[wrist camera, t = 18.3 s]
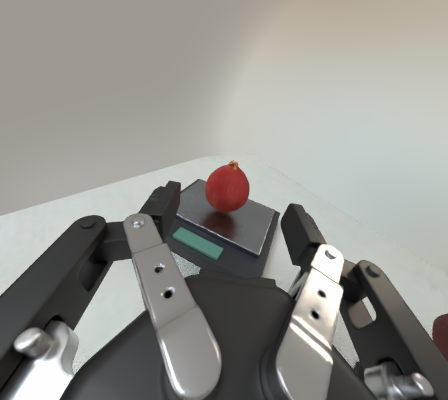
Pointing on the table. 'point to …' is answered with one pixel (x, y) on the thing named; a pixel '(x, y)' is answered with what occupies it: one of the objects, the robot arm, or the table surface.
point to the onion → (227, 188)
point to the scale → (222, 234)
